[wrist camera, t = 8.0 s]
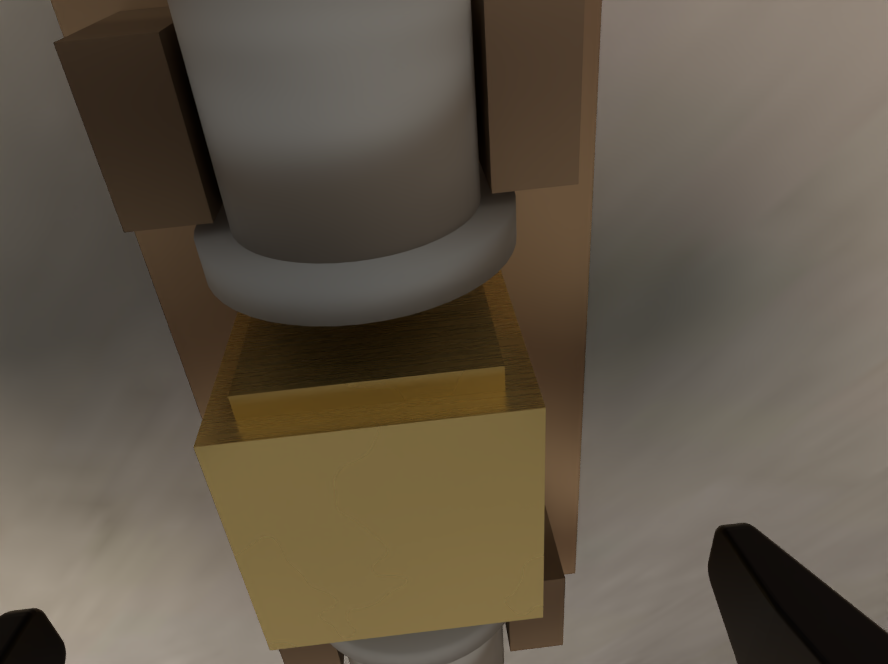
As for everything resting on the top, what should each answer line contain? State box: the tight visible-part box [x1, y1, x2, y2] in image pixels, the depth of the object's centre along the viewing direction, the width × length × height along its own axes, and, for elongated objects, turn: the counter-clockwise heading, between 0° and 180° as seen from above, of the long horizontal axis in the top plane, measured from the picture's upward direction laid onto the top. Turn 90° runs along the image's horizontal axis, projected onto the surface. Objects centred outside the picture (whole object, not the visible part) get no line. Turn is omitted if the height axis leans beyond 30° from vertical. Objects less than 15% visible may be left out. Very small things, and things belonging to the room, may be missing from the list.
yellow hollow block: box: [194, 270, 546, 650], centre depth 12 cm, size 5×4×4 cm
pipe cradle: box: [51, 0, 602, 664], centre depth 12 cm, size 15×8×5 cm, turn 4°
